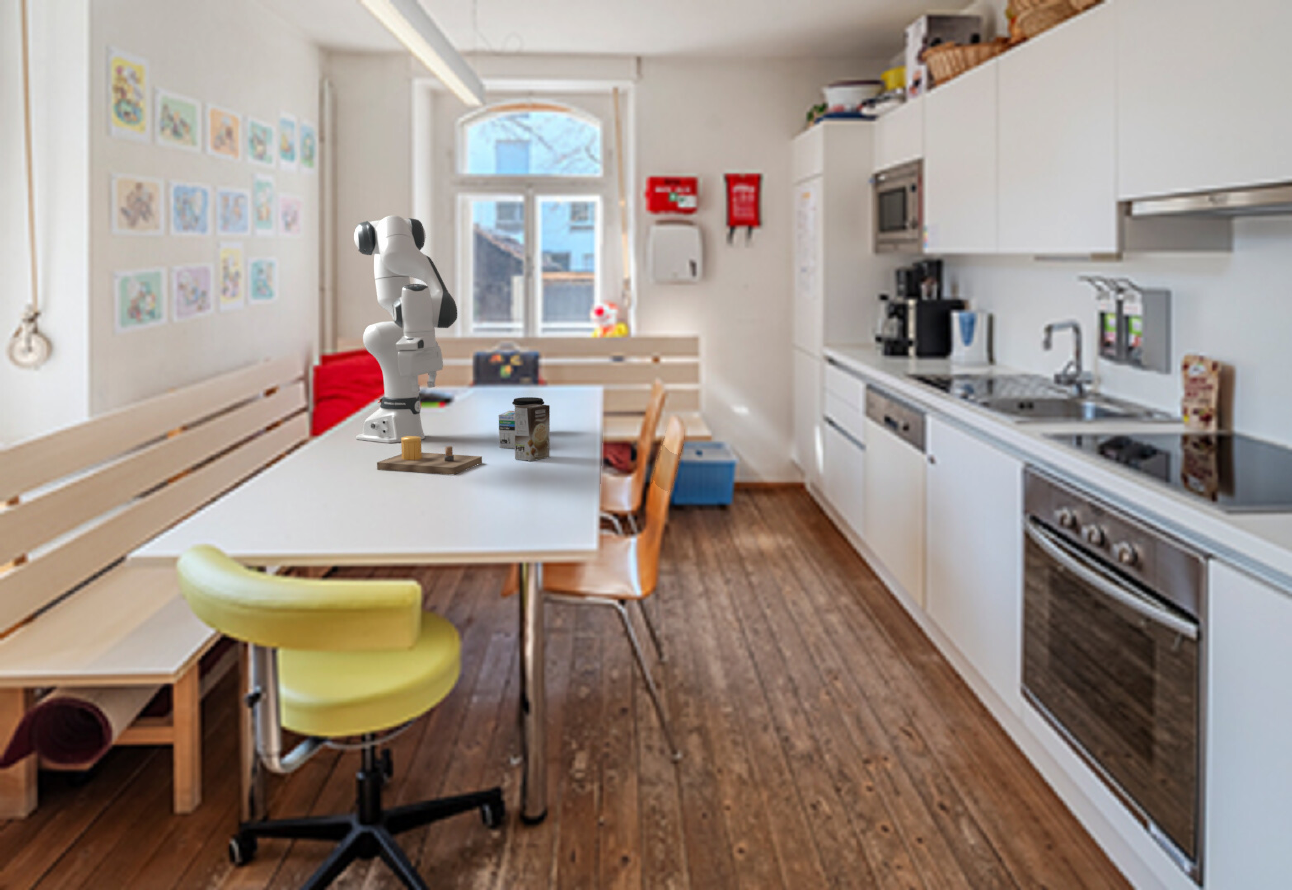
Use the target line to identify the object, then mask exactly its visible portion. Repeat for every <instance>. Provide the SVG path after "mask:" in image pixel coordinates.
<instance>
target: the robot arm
mask: <svg viewBox="0 0 1292 890" xmlns="http://www.w3.org/2000/svg"><path fill="white" fill-rule="evenodd" d="M353 234H354V235H353V239H354V244H355V246H356V248H357V249H358V252H359V253H360V254H362V255H366V256H373V255H374V260H373V272H374V274H373V275H374V281H375V282H374V283H375V291H376V297H377V298H376V299H377V303H378V305H379V306H380V307H381V308H383V309H385V310H386V311H387V312H388V313H389V314H390V316H391V318H392V320H393V321H379V322H375V323H373V324H369V325H368V326H366V328H365V330H364V332H363V335H362V342H363V346H364V348H365V350H366V351H367V352H368V353H369V354H371V355H372V356H373V357H374V358H375V360H376V361H377V362H378V364H379V366H380V369H381V371H382V377H383V390H384V396H383V397H381V398H380V399H377V404H380V406H379V408H378V409H376V410H375V411H374V412H373V413H372V414H370V415H369V416H368V417H366V419H365V421H364V422H363V427H362V433H359V434H357V435H356V436H355V437H356V438H355V439H356V440H360V441H369V442H378V443H379V442H380V443H387V444H390V443H391V444H392V443H400V442H401V438H402V437H406V436H419V437H421V440H424V439H425V438H426V436H425V433H424V430H423V426H422V421H421V420H422V419H421V418H422V417H421V396H420V394H419V392H420V391H421V389H420V387H421V386H420V384H419V376H421V375H426V374H427V376H428V381H427V382H426V383H427V388H435V387H436V380H437V379H436V378H437V375H438V374H437V372H438V371H441V370H443V368H444V362H443V361H444V360H443V354H442V349H441V347H440V345H439V342H437V340H436V339H437V338H436V330H435V328H437V329H449V328H450V327H451V326H453V324H454V323H455V322H456V321H457V319H458V307H457V304H456V301H455V299H454V297H453V295H451V294H450V292H449V290H448V289H447V287H446V285H445V282H444V280H443V278H442V277H441V275H440V273H439V271H438V269H437V267H436V264H435V263H434V261H433V260H432V258H431V257H430V256H429V255H426V254H424V253H423V252H422V251H421V250H422V249H423V248H424V246H425V243H426V238H427V237H426V236H427V235H426V230H425V228H424V226H423V223H422V222H421V221H420V220H419V219H417V218H403V217H401V216H399V215H394V214H391V215H387V216H385V217H384V218H382V219H380V220H373V221H371V220H370V221H368V220H366V221H362V222H360V223H358V224H357V225H356V226H355V231H354V233H353ZM411 278H413V279H417V280H420V281H421V282H423V283H424V284H423V283H421V284H420V283H411Z"/></svg>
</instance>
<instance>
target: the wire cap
mask: <svg viewBox="0 0 1292 890" xmlns="http://www.w3.org/2000/svg"><path fill="white" fill-rule="evenodd" d="M422 452H423V451H422V439H421V437H419V436H406V437H402V438H401V454H402V459H404V460H417V459H421V458H422Z"/></svg>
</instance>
